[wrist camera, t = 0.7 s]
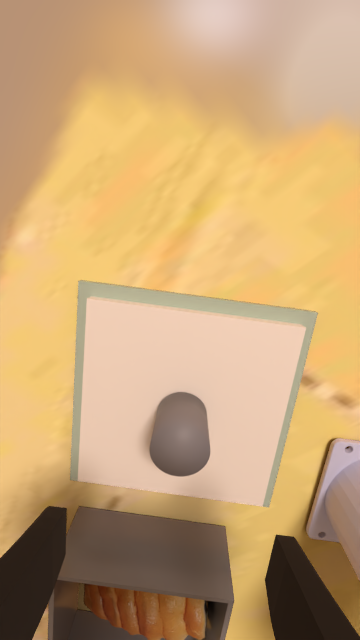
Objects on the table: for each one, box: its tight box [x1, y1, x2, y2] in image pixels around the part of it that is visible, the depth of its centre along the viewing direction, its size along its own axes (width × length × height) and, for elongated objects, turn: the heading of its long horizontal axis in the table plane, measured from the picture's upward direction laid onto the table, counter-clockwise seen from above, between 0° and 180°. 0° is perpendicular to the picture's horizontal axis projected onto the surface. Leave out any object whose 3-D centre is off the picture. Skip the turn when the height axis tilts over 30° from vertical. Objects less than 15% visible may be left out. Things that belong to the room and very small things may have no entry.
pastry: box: [84, 584, 208, 640], centre depth 21 cm, size 9×7×4 cm
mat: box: [70, 280, 318, 507], centre depth 19 cm, size 14×14×1 cm
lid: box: [78, 296, 306, 506], centre depth 16 cm, size 12×12×4 cm
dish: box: [48, 506, 234, 640], centre depth 20 cm, size 11×11×5 cm
